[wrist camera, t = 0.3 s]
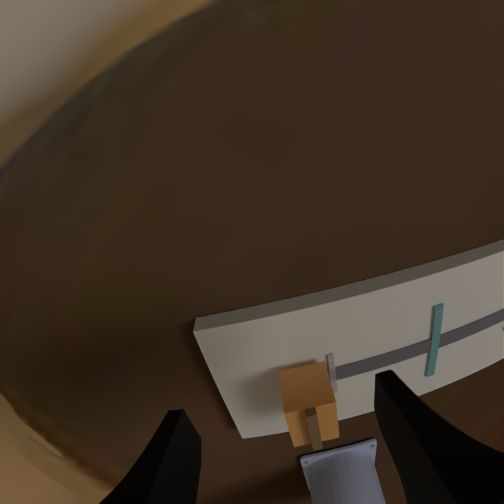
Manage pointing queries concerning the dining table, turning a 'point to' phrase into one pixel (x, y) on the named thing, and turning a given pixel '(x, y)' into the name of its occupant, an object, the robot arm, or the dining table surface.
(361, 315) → the fader console
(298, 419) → the fader tab
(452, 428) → the robot arm
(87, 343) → the dining table surface
